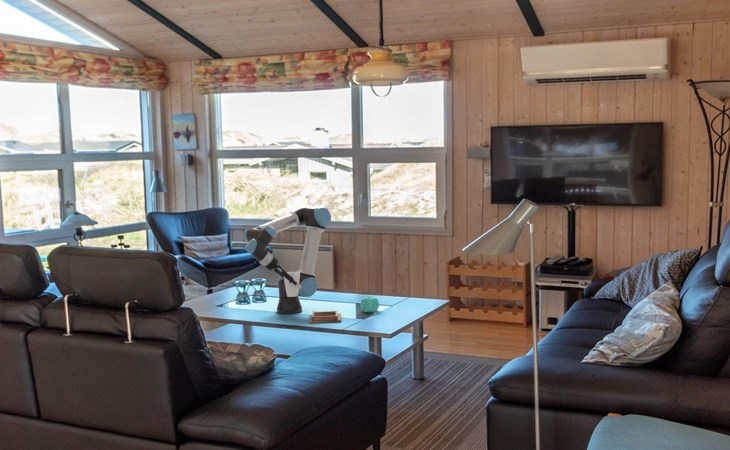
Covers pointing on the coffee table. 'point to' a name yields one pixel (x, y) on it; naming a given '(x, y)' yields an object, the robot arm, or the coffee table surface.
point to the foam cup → (290, 288)
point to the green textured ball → (369, 304)
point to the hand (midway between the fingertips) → (297, 286)
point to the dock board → (325, 317)
